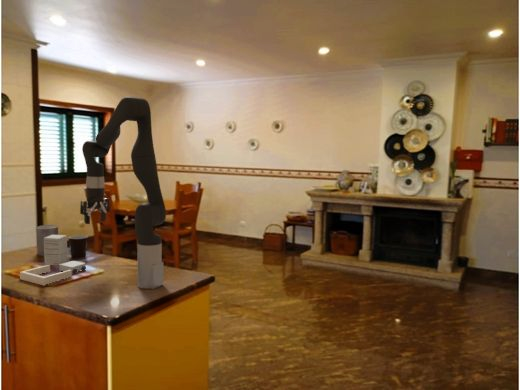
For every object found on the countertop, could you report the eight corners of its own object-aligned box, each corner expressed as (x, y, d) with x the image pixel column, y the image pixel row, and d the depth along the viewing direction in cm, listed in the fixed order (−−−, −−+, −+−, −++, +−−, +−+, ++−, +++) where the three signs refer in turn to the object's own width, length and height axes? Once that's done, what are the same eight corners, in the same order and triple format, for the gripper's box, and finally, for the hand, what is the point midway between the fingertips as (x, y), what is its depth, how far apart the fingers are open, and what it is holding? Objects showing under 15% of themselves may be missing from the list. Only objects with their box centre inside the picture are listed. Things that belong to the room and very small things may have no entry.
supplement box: (52, 260, 195) (52, 234, 194) (68, 261, 195) (67, 234, 193) (43, 264, 188) (43, 237, 186) (59, 265, 187) (59, 238, 186)
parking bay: (71, 277, 172) (71, 270, 171) (43, 285, 160) (43, 278, 160) (48, 271, 178) (48, 264, 178) (20, 279, 167) (19, 272, 167)
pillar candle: (48, 250, 213) (47, 221, 212) (63, 252, 210) (62, 223, 209) (32, 254, 204) (31, 225, 202) (48, 256, 201) (47, 226, 199)
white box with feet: (88, 269, 183) (88, 263, 182) (73, 274, 175) (72, 267, 175) (74, 266, 187) (74, 260, 186) (58, 270, 180) (58, 264, 179)
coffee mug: (83, 259, 198) (83, 239, 197) (65, 258, 198) (65, 238, 197) (93, 253, 210) (93, 234, 209) (76, 252, 210) (76, 233, 209)
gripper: (88, 188, 174) (88, 226, 176) (113, 186, 187) (113, 221, 189) (75, 186, 177) (76, 223, 179) (101, 184, 190) (101, 219, 192)
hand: (95, 222), depth 184 cm, fingers open, 8 cm apart
